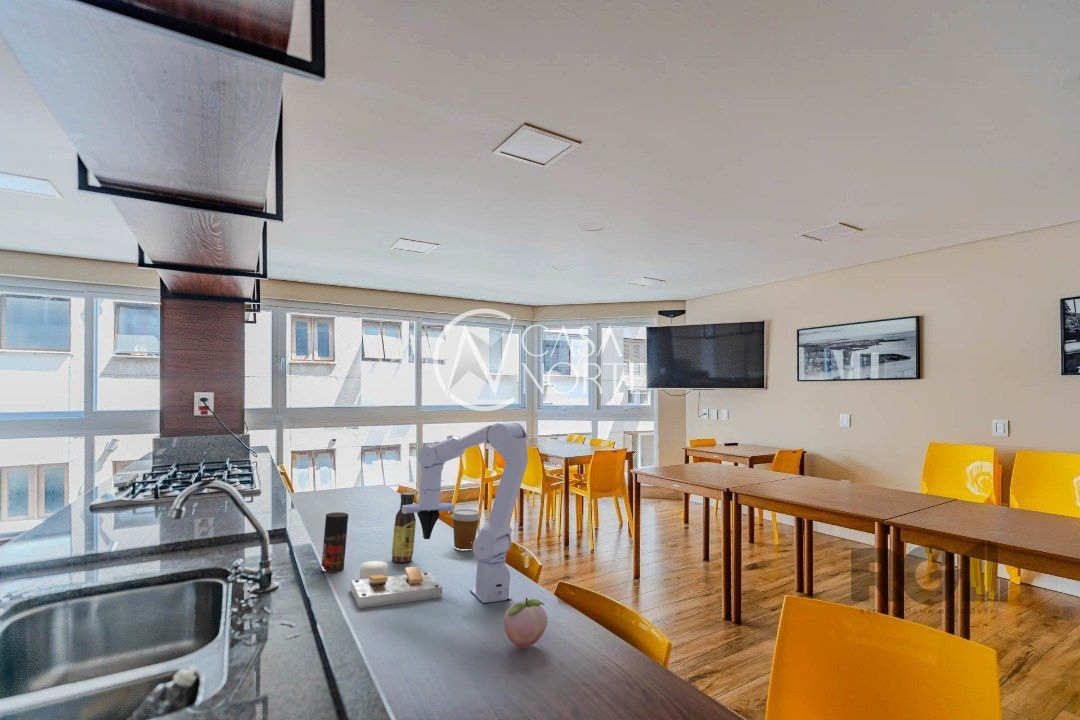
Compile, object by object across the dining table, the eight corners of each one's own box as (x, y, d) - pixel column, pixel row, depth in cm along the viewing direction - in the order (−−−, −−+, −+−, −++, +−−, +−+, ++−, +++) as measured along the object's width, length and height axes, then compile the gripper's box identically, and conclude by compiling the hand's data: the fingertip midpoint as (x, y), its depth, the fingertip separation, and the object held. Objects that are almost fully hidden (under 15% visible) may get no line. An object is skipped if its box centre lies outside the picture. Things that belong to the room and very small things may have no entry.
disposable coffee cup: (463, 554, 167) (466, 516, 168) (443, 548, 172) (446, 511, 173) (484, 548, 174) (486, 512, 175) (464, 542, 180) (466, 507, 181)
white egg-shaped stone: (388, 583, 138) (390, 567, 139) (361, 586, 135) (362, 570, 136) (383, 574, 145) (384, 560, 145) (357, 577, 141) (358, 562, 142)
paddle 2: (422, 582, 133) (423, 578, 132) (410, 583, 131) (410, 579, 131) (416, 569, 138) (417, 566, 138) (404, 571, 136) (405, 567, 136)
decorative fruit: (522, 633, 113) (525, 586, 114) (552, 646, 108) (555, 597, 108) (492, 648, 106) (495, 597, 106) (522, 663, 100) (525, 609, 101)
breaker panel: (441, 597, 130) (442, 584, 131) (358, 608, 121) (359, 594, 121) (427, 581, 141) (428, 569, 141) (350, 590, 132) (351, 577, 132)
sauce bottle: (406, 564, 154) (412, 496, 155) (387, 562, 155) (392, 494, 157) (416, 558, 160) (421, 492, 162) (397, 556, 161) (402, 490, 163)
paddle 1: (387, 581, 128) (387, 577, 128) (373, 583, 127) (374, 578, 127) (381, 578, 133) (381, 574, 133) (368, 580, 132) (369, 576, 132)
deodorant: (316, 569, 145) (321, 514, 146) (333, 564, 150) (338, 511, 152) (331, 574, 142) (336, 518, 144) (348, 568, 148) (352, 514, 149)
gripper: (450, 485, 153) (446, 532, 152) (400, 487, 146) (396, 536, 145) (458, 489, 147) (455, 539, 146) (407, 491, 140) (403, 543, 139)
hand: (426, 538), depth 145 cm, fingers closed
